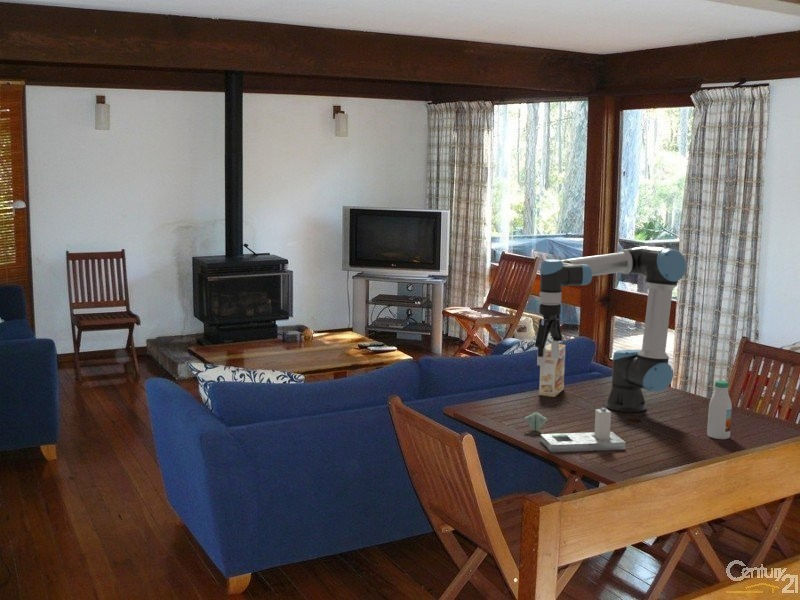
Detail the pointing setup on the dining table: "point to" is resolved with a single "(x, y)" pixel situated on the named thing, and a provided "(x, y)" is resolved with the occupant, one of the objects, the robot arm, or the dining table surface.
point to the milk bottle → (720, 412)
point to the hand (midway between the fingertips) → (548, 362)
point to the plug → (602, 424)
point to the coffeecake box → (552, 373)
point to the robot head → (535, 420)
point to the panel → (580, 442)
